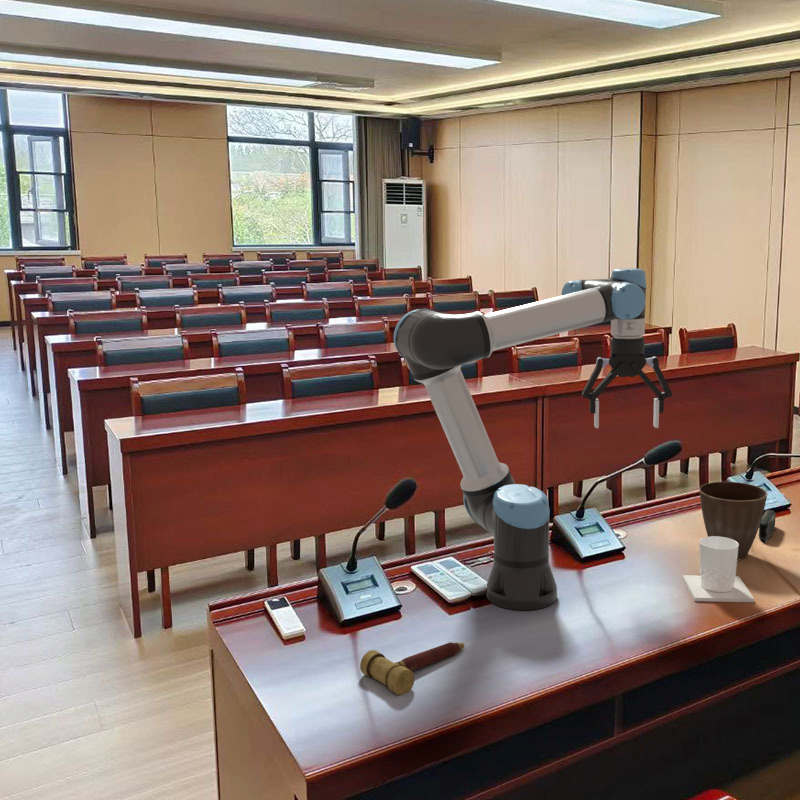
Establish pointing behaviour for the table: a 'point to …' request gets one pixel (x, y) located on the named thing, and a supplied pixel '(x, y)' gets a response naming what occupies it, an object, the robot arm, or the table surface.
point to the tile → (701, 594)
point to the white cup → (718, 563)
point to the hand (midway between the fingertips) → (626, 426)
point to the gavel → (404, 666)
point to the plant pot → (733, 511)
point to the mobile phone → (767, 525)
